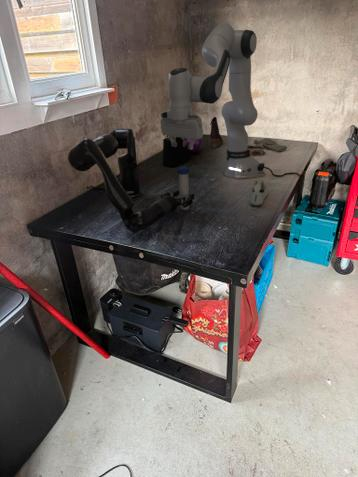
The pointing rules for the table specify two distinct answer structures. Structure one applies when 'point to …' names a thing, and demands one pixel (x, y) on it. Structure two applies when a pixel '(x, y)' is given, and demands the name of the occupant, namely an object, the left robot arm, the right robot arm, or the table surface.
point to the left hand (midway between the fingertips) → (185, 194)
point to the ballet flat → (258, 193)
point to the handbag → (174, 151)
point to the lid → (183, 170)
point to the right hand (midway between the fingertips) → (182, 147)
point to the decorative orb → (194, 145)
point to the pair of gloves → (267, 144)
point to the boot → (215, 133)
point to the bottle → (184, 188)
